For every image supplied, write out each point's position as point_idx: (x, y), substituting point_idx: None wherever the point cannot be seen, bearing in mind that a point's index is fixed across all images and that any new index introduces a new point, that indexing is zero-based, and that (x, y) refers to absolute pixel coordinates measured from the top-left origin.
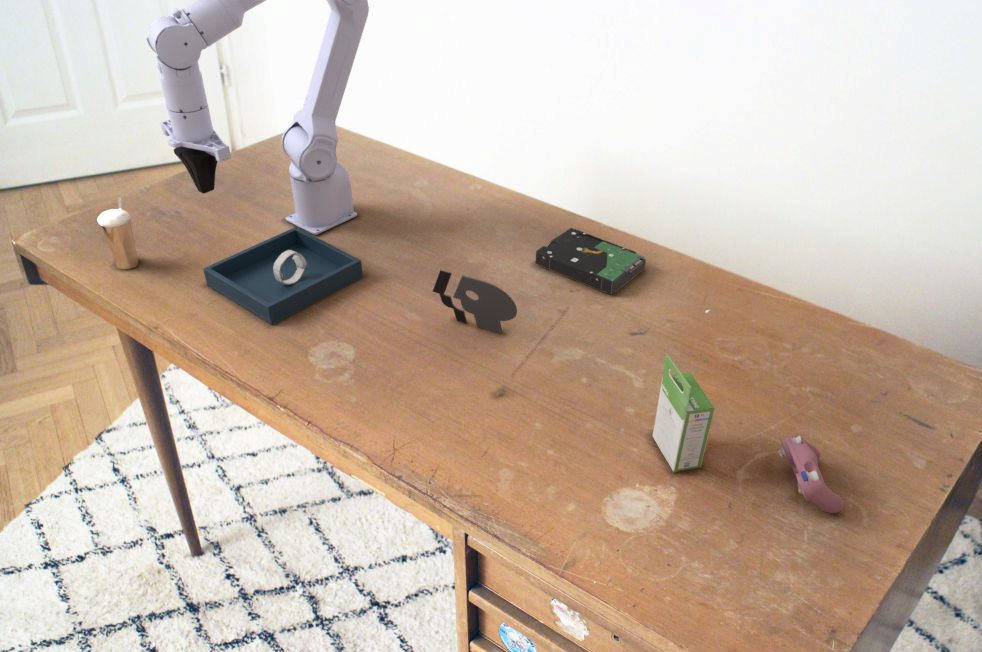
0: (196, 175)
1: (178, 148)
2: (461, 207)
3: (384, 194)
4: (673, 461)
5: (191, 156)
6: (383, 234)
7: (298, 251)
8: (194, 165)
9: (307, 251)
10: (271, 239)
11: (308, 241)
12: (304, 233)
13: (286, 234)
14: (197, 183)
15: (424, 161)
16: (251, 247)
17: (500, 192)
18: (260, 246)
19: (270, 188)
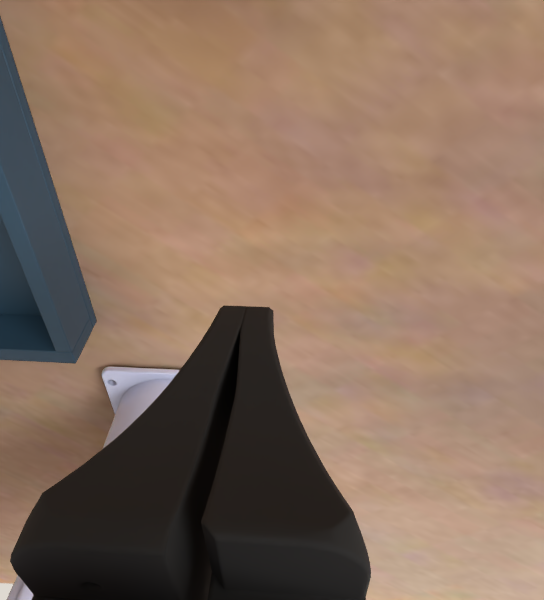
0: (181, 390)
1: (337, 576)
2: None
3: None
4: None
5: (27, 556)
6: (21, 438)
7: (26, 292)
8: (81, 467)
9: (12, 306)
10: (32, 278)
11: (2, 335)
12: (17, 353)
13: (46, 323)
14: (226, 342)
15: None
16: (8, 202)
17: None
18: (8, 228)
19: (430, 441)
